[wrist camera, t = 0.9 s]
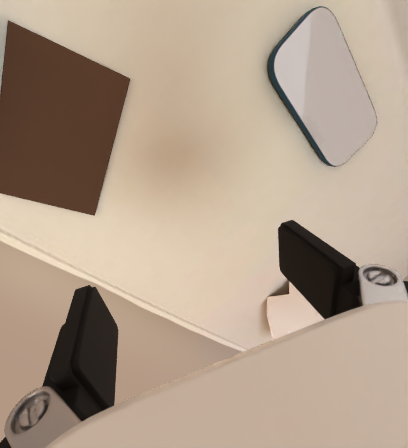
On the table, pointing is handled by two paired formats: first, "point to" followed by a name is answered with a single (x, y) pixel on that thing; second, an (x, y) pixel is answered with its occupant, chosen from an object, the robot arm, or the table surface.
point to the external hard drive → (323, 87)
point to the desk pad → (56, 122)
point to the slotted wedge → (290, 313)
